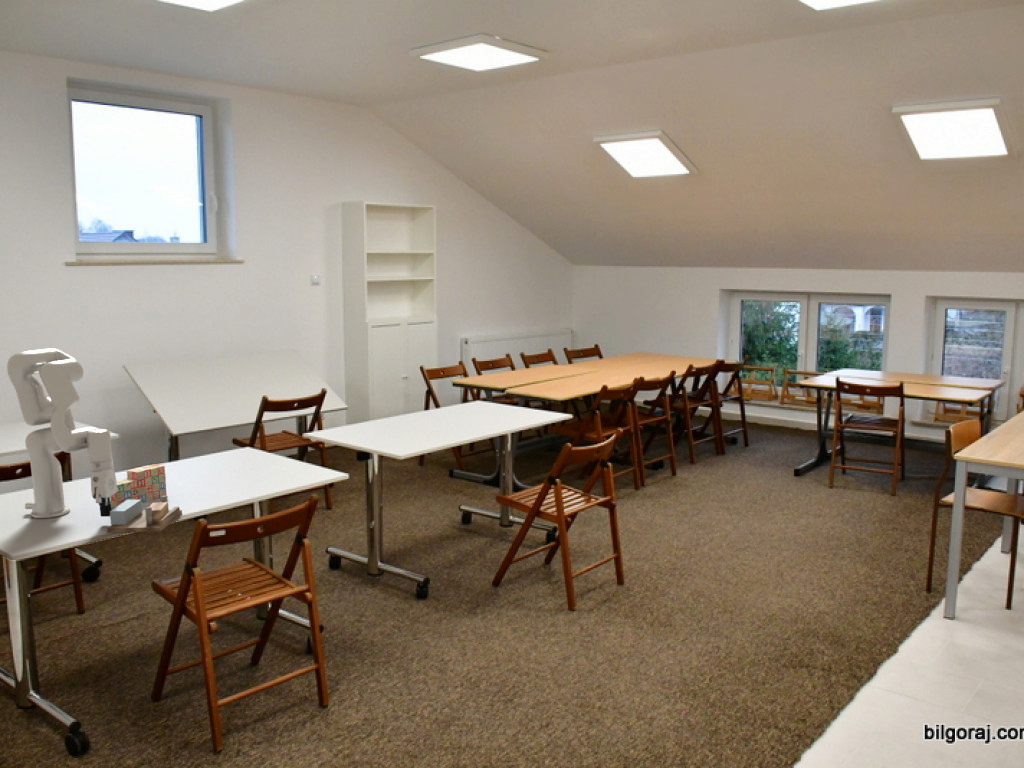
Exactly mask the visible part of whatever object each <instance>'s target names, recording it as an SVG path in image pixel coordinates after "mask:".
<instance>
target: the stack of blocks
mask: <svg viewBox="0 0 1024 768" xmlns="http://www.w3.org/2000/svg"><path fill="white" fill-rule="evenodd" d="M165 467H166V466H165V465H161V464H155V463H153V464H150V465H148V464H147V465H143V466H141V467H140V466H139V467H135V468H131V469H128V470H127V469H126V478H123V479H118V480H116V482H117V492H116V493H115V494H114V495H113V496H112V497H111V509H114V508H116V507H117V506H119V505H120V504H122V503H123V502H125V501H126V500H141V502H142V503H145V502H149V501H152V500H157V499H160V498H161V496H167V497H168V495H167V481H166V479H167V477H166V470H165Z"/></svg>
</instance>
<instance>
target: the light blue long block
mask: <svg viewBox="0 0 1024 768" xmlns="http://www.w3.org/2000/svg"><path fill="white" fill-rule="evenodd" d="M142 505H143V502H141V500H126V501H125V502H123V503H122V504H120V505H119V506H117V507H116V508H112V509H111V511H110V516H109V517H110V526H111V525H126V524H127V523H128V522H130V521H131V520H133V519H134V518H135V517H137V516H138V515H139V514H141V513H142V511H143V506H142Z"/></svg>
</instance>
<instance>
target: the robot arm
mask: <svg viewBox="0 0 1024 768" xmlns="http://www.w3.org/2000/svg"><path fill="white" fill-rule="evenodd" d="M6 372H7V374H8V378H9V379H10V382H11V384H12V386H13V388H14V389H15V392H16V396H17V400H18V404H19V407H20V411H21V415H22V417H23V420H24V422H25V423H26V425H28V426H30V427H37V426H43V425H49V424H50V426H47V427H44V428H40V429H39V428H38V429H36V430H35V429H34V430H33V431H30V433H28V435H27V436H26V437H25V439H24V440H25V441H24V442H25V448H26V451H27V454H28V458H29V462H30V470H31V480H32V489H33V499H34V502H25V504H24V509H25V510H32V511H30V516H31V517H32V518H33V519H49V518H55V517H60V516H63V515H67V514H68V513H69V512H70V510H71V507H70V506H67V505H66V504H65V496H64V495H65V494H64V484H63V474H62V473H63V471H62V465H61V462H60V461H59V460H58V458H57V457H56V456H55V455H54V454H56V453H60V452H64V453H68V454H69V453H75V452H80V451H83V450H84V451H85V450H87V455H88V456H87V457H88V466H89V471H90V491H91V496H92V498H93V499H94V500H95V503H96V504H98V506H99V511H100V512H99V515H100V517H110V511H111V510H112V508H111V497H112V496H113V495H114V494H115V493H116V492H117V482H116V481H117V477H116V473H115V468H114V461H113V451H112V449H113V447H112V441H111V433H110V431H109V430H108V429H106V428H97V427H95V426H85V427H82V428H76V425H75V422H74V421H75V420H74V417H73V414H72V413H73V412H72V410H71V408H73V407H75V406H76V405H77V404H78V403H79V401H80V396H79V394H78V392H77V390H76V387H75V386H74V384H73V383H76V382H77V383H78V382H79V381H81V380H82V379H83V378H84V368H83V365H81V363H80V362H79V361H78V360H77V359H76V358H74V357H72V356H71V355H69V354H67V353H65V352H63V351H62V350H59V349H57V348H43V349H42V348H41V349H33V350H32V349H31V350H24V351H20V352H16V353H13V355H11V356H10V357H9V358H8V361H7V364H6ZM37 374H38V375H39V377H40V379H41V381H42V384H43V385H42V384H41V382H40V381H39V380H38V379H37V378H36V377H34V376H33V375H37ZM43 386H44V388H45V390H46V393H47V394H48V396H46V393H45V391H44V388H43Z"/></svg>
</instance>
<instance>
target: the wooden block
mask: <svg viewBox="0 0 1024 768" xmlns="http://www.w3.org/2000/svg"><path fill="white" fill-rule="evenodd" d="M149 507H152V519H153V523H158V520H159V519H160V518H161V517H163V516H164V515H165V514H167V513H168V512H169V510H170V509H169V502H162V501H158V502H152V503H151V504H150V506H149ZM145 513H146V511H145Z"/></svg>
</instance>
